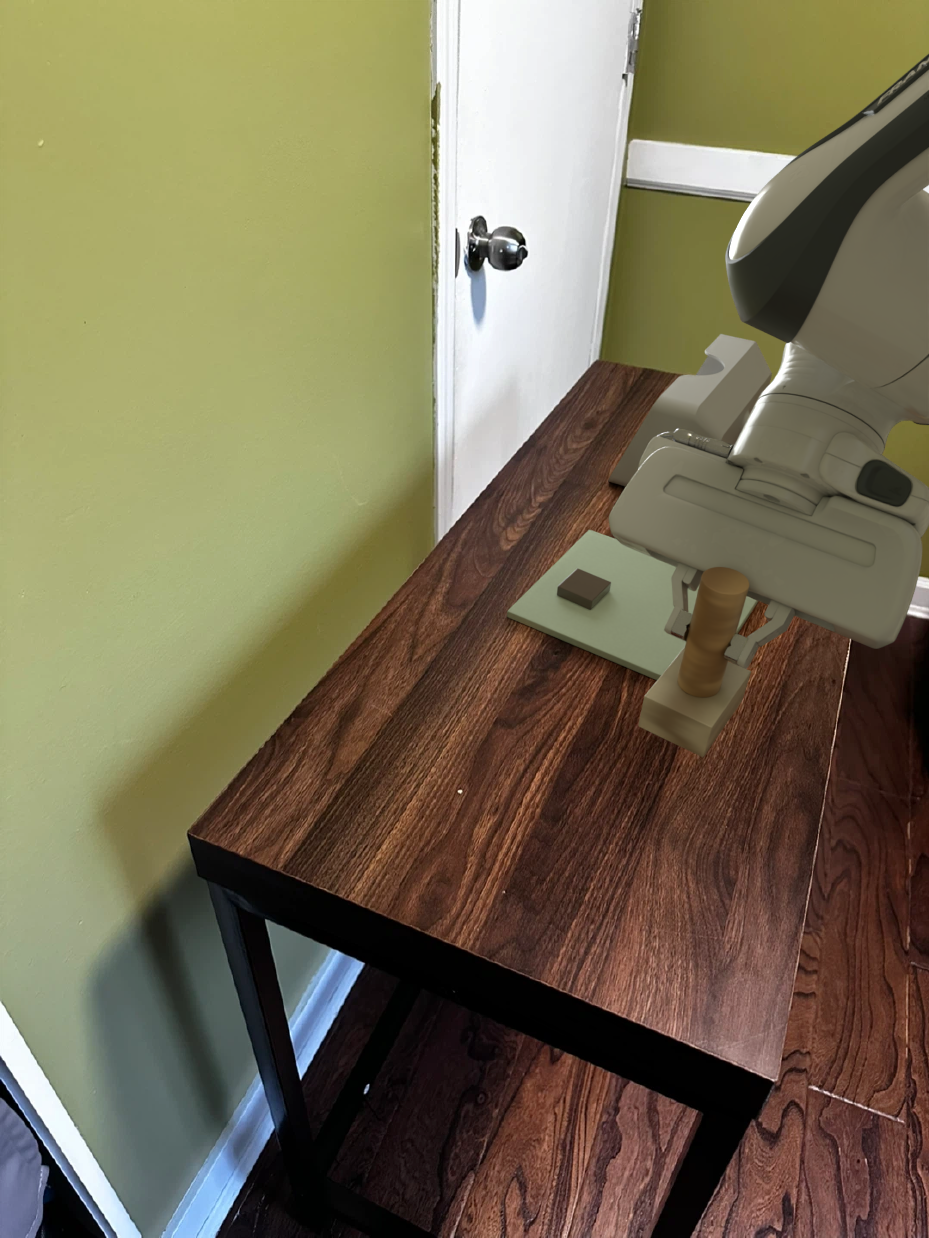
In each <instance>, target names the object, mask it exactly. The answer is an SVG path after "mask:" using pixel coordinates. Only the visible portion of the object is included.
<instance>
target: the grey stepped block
mask: <svg viewBox="0 0 929 1238" xmlns="http://www.w3.org/2000/svg"><path fill="white" fill-rule="evenodd" d="M704 354H705V355H706V358H705V359H704V361H703V363H702V364H701V366H700V367H699V369H698V371H697V372H696V374H682V375H679V376H678V377H677V378H676V379H675V380H674V381H673V382H671V384H670V385H669V386H668V387H667V388H666V389H665V390H664V391H663V392H662V393H661V394H660V395H659V397H658V398H657V399H656V400H655V402H654V404H653V405H652V406H651V408H650V409H649V411H648V413H647V414H646V416H645V418H644V420H643V421H642V423H641V425H640V426H639V428H638V430H637V431H636V432H635V435H634V436H633V438H632V439H631V441H630V442H629V444H628V446H627V448H626V449H625V450H624V453H623V454H622V456H621V457H620V459H619V460H618V462H617V464H616V466H615V468H614V469H613V471H612V472H611V474H610V476H609V477H608V479H607V482H609V483H612V484H616V485H619V486H622V487H624V488H625V487H626V486H627V484H628V483H629V482H630V480H631V479H632V477H633V476H634V475H635V473H636V472H637V470H638V466H639V462H640V459H641V457H642V455H643V453H644V451H645V449H646V447H647V445H648V444H649V442H650V441H651V440H652V439H653V438H654V437H655V436H658V435H660V434H662V433H665V432H675V430H676V429H685V430H689V431H691V432H694V433H695V434H696V435H699V436H703V437H707V438H712V439H716V440H719V441H722V442H726V443H729V444H732V445H735V443H736V441H737V439H738V437H739V435H740V433H741V431H742V429H743V427H744V425H745V423H746V421H747V419H748V417H749V415H750V413H751V411H752V409H753V407H754V405H755V403H756V402H757V399H758V398H759V396H760V395H761V393H762V392H763V391H764V390H765V389H766V388H767V386H768V385H769V384H770V383H771V380H772V376H773V373H772V370H771V369H770V367H769V364H768V362H767V361H766V358H765V357H764V354H763V352H762V350H761V348H760V346H759V344H758V343H757V341H755V340H751V339H746V338H743V337H742V338H741V337H737V336H732V335H727V334H723V333H720V334H719V335H718V336H717V337H716V338H715V339H714V340H713V342H711V343H710V344H709V345H708V346H707V348H705V350H704ZM672 438H673V437H669V438H666V439H669V440H672V441H673V439H672Z"/></svg>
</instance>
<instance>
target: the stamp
mask: <svg viewBox="0 0 929 1238" xmlns="http://www.w3.org/2000/svg"><path fill="white" fill-rule="evenodd" d="M748 589H749V581H748V579H747V578H746V576H744V575H743V574H742V573H740V572H739V571H736V570H734V569H731V568H726V567H713V568H710V569H707V570H706V571H704V572H703V574H702V576H701V580H700V584H699V589H698V593H697V597H696V601H695V606H694V610H693V614H692V618H691V623H690V627H689V631H688V635H687V640H686V644H685V647H684V648H683V650H682V651H681V652H680V653H679V654H678V656H677V657H676V658H675V659H674V661H673V662H672V663H671V664H670V665H669V667H668V668H667V669H666V670H665V672H664V673H663V674H662V675H661V676H660V678H659V679H658V680H655V682H654V684H653V685H652V686H651V687H650V689H649V690H647V692H646V693H645V695H644V696H643V700H642V701H643V702H642V705H641V710H640V711H641V712H640V715H639V719H638V725H637V726H638V727H639V728H641V729H643V730H645V731H647V732H649V733H651V734H653V735H655V736H657V737H660V738H662V739H664V740H666V741H668V742H670V743H672V744H674V745H676V746H678V747H680V748H682V749H683V750H687V751H688V752H691V753H692V754H695V755H697V756H699V757H701V758H705V756H706V754H707V753H708V752H709V750H710V749H711V747H712V746H713V744H714V743H715V741H716V740H717V738H718V737H719V735H720V734H721V733H722V732H723V730H724V729H725V727H726V725H727V724H728V722H729V721H730V720H731V718H732V717H733V715H734V714H735V712H736V711H737V710H738V709H739V706H740V705H741V704H742V703H743V699H744V696H745V694H746V690H747V687H748V684H749V681H750V676H751V674H752V671H751V670H749V669H748V668H747V669H744V668H742V667H740V666H738V665H735V664H733V663H731V662H729V661H727V660H725V658H724V653H725V651H726V649H727V648H728V647H729V646H731V643H730V641H731V639H732V637H733V636H734V634H735V633H736V632H737V628H738V624H739V621H740V617H741V614H742V610H743V607H744V603H745V600H746V596H747V593H748Z"/></svg>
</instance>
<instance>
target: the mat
mask: <svg viewBox="0 0 929 1238" xmlns="http://www.w3.org/2000/svg"><path fill="white" fill-rule="evenodd" d="M577 568H579V569H581V570H583V571H586V572H588V573H590V574H593V575H595V576H598V577H600V578H602V579H605V580H607V581H610V582H611V586H610V591H609V592H608V593H607V594H606V595H605V596H604V597H603V598H602V599H601V600H600V601H599V602H598V603H597V604H596V605H595V606H594V607H593V608H592V609H591V610H589V609H587V608H585V607H582V606H580V605H578V604H576V603H573V602H571V601H569V600H566V599H564V598H562V597H560V596H557V588H558V585H560V584H561V583H562V582H563V581H564V580H565V579H566V578H567V577H568V576H569V575H571V574H572V573H573V572H574V571H575V570H576V569H577ZM675 569H676V567H674V566H672V565H670V564H667V563H665V562H662V561H660V560H657V559H655V558H653V557H650V556H648V555H645V554H643V553H640V552H638V551H636V550H633V549H631V548H628V547H626V546H624V545H622V544H621V543H620V542H619V541H618V540H617V539H616V538H615V537H611V536H609V535H605V534H604V533H600V532H597V531H595V530H592V529H587V531H586V532H585V533H584V534H583V535H582V536H581V537H580V538H579V539H578V540H577V541H576V542H575V543H574V544H573V545H572V546H571V547H570V548H569V549H567V551H566V552H565V553H564V554H563V555H562V556H561V557H560V558H559V559H558V560H557V561H556V562H555V563H553V565H552V566H551V567H549V569H548V570H546V572H545V573H543V575H541V577H540V578H539V579H538V580H536V582H535V583H534V584H532V586H530V588H529V589H528V590H527V591H526V592H524V594H523V595H522V596H520V598H518V600H516V602H515V603H514V604H513V605H512V606H511V607H510V608H509V609H508V610H507V611H506V617H507V618H509V619H511V620H514V621H516V622H518V623H520V624H523V625H525V626H528V627H530V628H532V629H535V630H537V631H539V632H541V633H544V634H546V635H549V636H551V637H553V638H556V639H558V640H561V641H563V642H565V643H568V644H570V645H572V646H574V647H577V648H579V649H582V650H584V651H587V652H589V653H591V654H593V655H596V656H597V657H598V656H599V657H601V658H604V659H606V660H608V661H611V662H613V663H615V664H617V665H619V666H621V667H625V668H627V669H630V670H632V671H634V672H636V673H639V674H641V675H644V676H646V677H648V678H649V679H653V680H655V681H657V680H658V679H659V678H660V676H661V675H662V674H663V673H664V672H665V670H666V669H667V668H668V667H669V665H670V664H671V663H672V662H673V661H674V659H675V658H676V657H677V656H678V654H679V653H680V652H681V651H682V650H683V648H684V647H685V644H686V642H685V641H683V640H681V639H678V638H676V637H674V636H672V635H670V634H667V633H666V632H665V631H664V628H665V625H666V623H667V621H668V619H669V617H670V615H671V613H672V611H673V609H674V606H673V595H672V580H671V577H672V575H673V573H674V571H675ZM698 589H699V586H698V588H697V590H696V591H692V590H690V589H689V588H688V612H689V613H691V614H693V610H694V606H695V601H696V597H697V593H698ZM758 603H759V601H757V600H755V599H752V598H750V597H747V596H746V600H745V603H744V607H743V610H742V614H741V617H740V621H739V624H738V628H737V632H736V633H737V634H739V632H740V631H741V629H742V628H743V626H744V624H745V623H746V621H747V620H748V619H749V617H750V616H751V613H752V612H753V611H754V609H755V608H756V606H757V604H758Z"/></svg>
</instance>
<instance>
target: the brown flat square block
mask: <svg viewBox="0 0 929 1238" xmlns="http://www.w3.org/2000/svg"><path fill="white" fill-rule="evenodd" d="M610 586H611V582H610V581H607V580H605V579H602V578H600V577H598V576H595V575H593V574H590V573H588V572H586V571H583V570H581V569H579V568H577V569H576V570H575V571H574V572H573V573H572V574H571V575H569V576H568V577H567V578H566V579H565V580H564V581H563V582H562V583H561V584H560V585H558V588H557V596H560V597H562V598H564V599H566V600H569V601H571V602H573V603H576V604H578V605H580V606H582V607H585V608H587V609H589V610H591V609H592V608H593V607H594V606H595V605H596V604H597V603H598V602H599V601H600V600H601V599H602V598H603V597H604V596H605V595H606V594H607V593H608V592H609V591H610Z"/></svg>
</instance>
